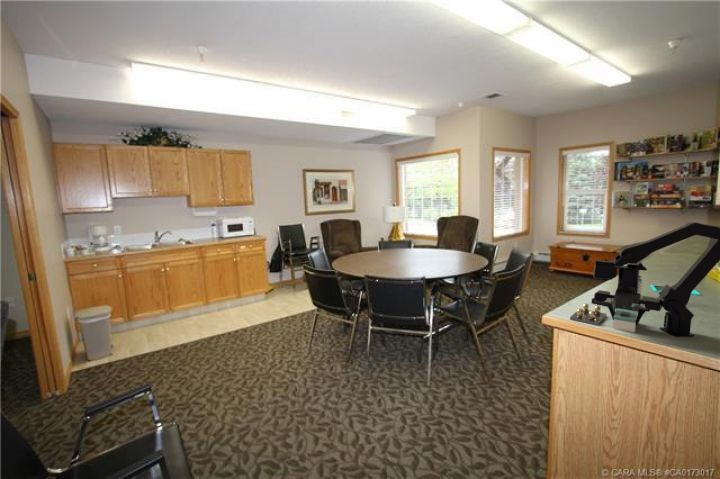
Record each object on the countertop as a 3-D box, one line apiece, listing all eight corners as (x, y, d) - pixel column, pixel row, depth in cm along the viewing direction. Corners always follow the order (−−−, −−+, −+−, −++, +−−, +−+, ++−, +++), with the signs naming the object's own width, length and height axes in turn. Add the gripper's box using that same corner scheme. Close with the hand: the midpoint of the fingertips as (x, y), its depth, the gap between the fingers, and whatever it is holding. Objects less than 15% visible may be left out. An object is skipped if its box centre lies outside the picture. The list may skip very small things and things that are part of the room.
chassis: (580, 310, 138) (580, 301, 137) (606, 316, 131) (607, 306, 130) (570, 319, 129) (570, 309, 128) (597, 325, 122) (598, 315, 122)
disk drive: (590, 305, 146) (633, 313, 134) (591, 298, 146) (633, 306, 134) (600, 300, 152) (641, 307, 140) (600, 294, 152) (642, 301, 140)
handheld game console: (700, 296, 151) (700, 293, 151) (654, 292, 160) (654, 289, 160) (693, 291, 160) (693, 288, 160) (649, 287, 168) (650, 284, 168)
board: (616, 319, 128) (617, 306, 127) (636, 323, 124) (637, 309, 123) (612, 328, 120) (613, 314, 119) (634, 332, 116) (635, 318, 115)
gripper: (591, 281, 121) (588, 322, 123) (659, 290, 107) (655, 336, 109) (599, 275, 128) (596, 314, 130) (664, 283, 115) (660, 327, 117)
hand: (625, 322), depth 122 cm, fingers closed on board, 6 cm apart
